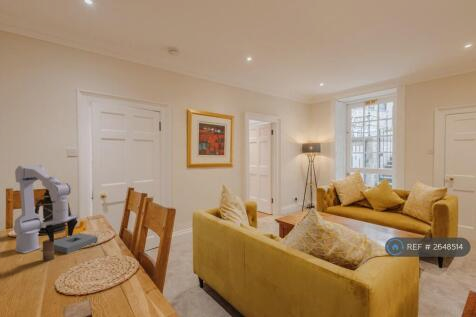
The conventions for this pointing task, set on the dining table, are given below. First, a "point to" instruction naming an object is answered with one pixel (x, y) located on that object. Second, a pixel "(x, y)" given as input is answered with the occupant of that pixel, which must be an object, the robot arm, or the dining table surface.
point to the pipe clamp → (77, 228)
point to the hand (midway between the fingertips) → (61, 238)
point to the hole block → (74, 242)
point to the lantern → (49, 213)
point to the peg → (48, 250)
